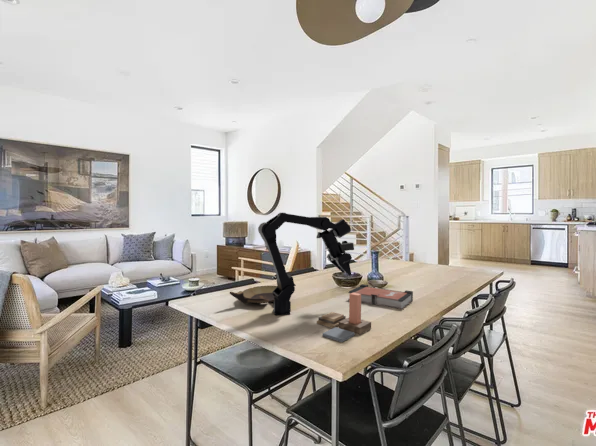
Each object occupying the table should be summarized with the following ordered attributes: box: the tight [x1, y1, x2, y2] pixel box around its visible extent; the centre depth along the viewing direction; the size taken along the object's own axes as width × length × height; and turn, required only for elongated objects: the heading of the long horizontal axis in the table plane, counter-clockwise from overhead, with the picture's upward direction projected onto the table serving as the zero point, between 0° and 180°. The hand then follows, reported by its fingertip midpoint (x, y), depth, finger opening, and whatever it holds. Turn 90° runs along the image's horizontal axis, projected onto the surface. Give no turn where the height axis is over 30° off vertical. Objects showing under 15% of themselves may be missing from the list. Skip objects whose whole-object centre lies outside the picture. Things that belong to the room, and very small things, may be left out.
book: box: [348, 284, 414, 310], centre depth 161 cm, size 26×18×5 cm
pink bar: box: [348, 293, 362, 325], centre depth 122 cm, size 4×2×13 cm
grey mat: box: [322, 327, 355, 343], centre depth 115 cm, size 8×8×1 cm
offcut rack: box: [316, 311, 372, 335], centre depth 126 cm, size 19×10×3 cm, turn 49°
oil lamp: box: [229, 285, 277, 304], centre depth 158 cm, size 22×30×8 cm
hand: (347, 273), depth 148 cm, fingers open, 9 cm apart
